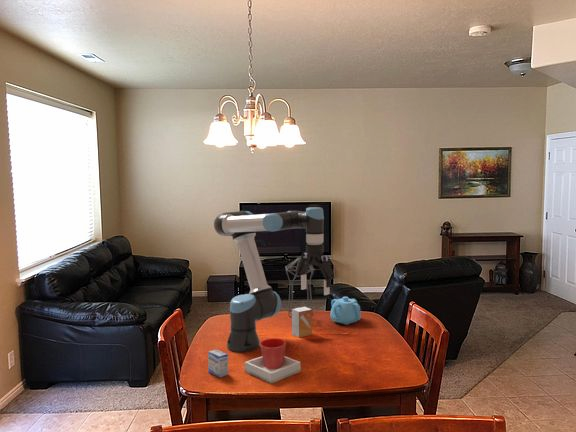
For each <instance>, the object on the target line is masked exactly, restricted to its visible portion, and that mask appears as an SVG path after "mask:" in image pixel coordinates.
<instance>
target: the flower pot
mask: <svg viewBox="0 0 576 432" xmlns="http://www.w3.org/2000/svg"><path fill="white" fill-rule="evenodd" d="M286 346H287V342H286V340H285V339H282V338H267V339H264V340H261V342H260V347H259V348H260V351H261V356H262V357H263V361H264V366H265V367H266V368H269V369H277V368H280V367H282V366H283V362H284V356H285V355H286V354H285V353H286Z"/></svg>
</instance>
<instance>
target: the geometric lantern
mask: <svg viewBox="0 0 576 432" xmlns="http://www.w3.org/2000/svg"><path fill="white" fill-rule="evenodd" d="M300 260H301V257H297V258H296V259H294V260H292V261H291V262H289V263H288V264H287V265H285V273H286V275H287V279H288V281H289V287H288V289H289V292H288V293H289V294H288V311H287V312H288V315H287V316H288V318H290V319H292V309H294V300H293V299H294V286H299V285H300V286H301V283H294V282H300V279H297V280H296V278H300V275H299V274H298V273H297V268H298V265H299V263H300ZM305 264H306V262H305ZM295 265H296V266H295ZM294 268H295V269H294ZM293 272H295V273H293ZM314 272H315V268H314V265H310V267H309V268H308V270H307V271H306V275H308V273H311V274H310V277H309V279H307V278H306V284H307V289H306V293H307V294H306V295H307V308H310V309H312V317H313V316H314V311H313V298H312V296H313V295H312V286H311V284H312V282H311V281H312V280H311V279H312V278H313V276H314ZM289 273H290V274H292V275H293V276H294V277H293V279H292V280H291V279H290V276H289ZM290 307H291V310H290Z"/></svg>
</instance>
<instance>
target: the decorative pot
mask: <svg viewBox="0 0 576 432" xmlns="http://www.w3.org/2000/svg"><path fill="white" fill-rule="evenodd" d="M330 304H331V309H330V316H329V317H330V319H331V320H332V321H333V322H334V323H339V324H344V326H349V325H350V324H353V323H357V322H358V321H360V320H361V316H362V315H361V313H362V312H361V306H360V304H359V303H358V301H357V299H356V298H349V297H348V296H343V297H342V298H338V299H337V298H334V299H331V302H330Z"/></svg>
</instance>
